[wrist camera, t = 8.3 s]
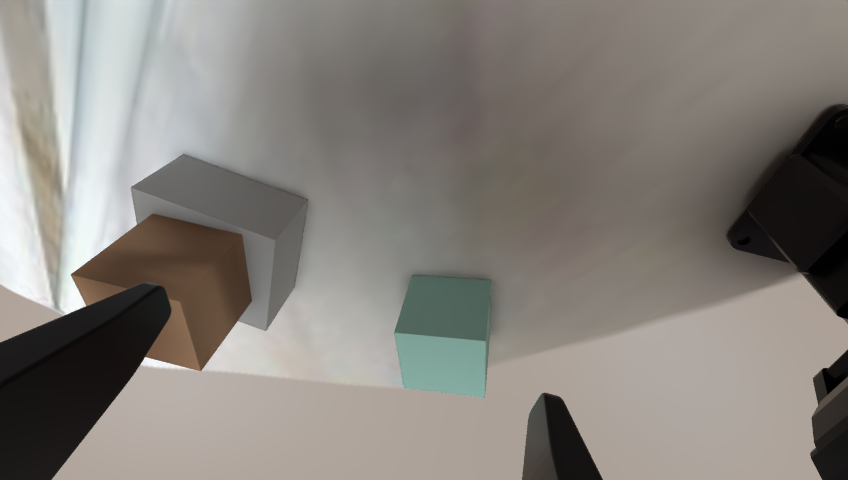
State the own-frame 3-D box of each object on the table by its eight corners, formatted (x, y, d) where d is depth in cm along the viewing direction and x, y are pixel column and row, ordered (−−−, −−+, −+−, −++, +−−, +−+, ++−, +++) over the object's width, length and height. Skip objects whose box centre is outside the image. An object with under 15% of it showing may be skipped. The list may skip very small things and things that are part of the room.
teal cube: (491, 279, 23) (485, 341, 19) (489, 334, 26) (485, 397, 22) (413, 274, 24) (394, 332, 20) (419, 327, 26) (403, 387, 23)
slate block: (310, 197, 22) (275, 240, 19) (296, 284, 26) (265, 330, 23) (186, 151, 22) (130, 187, 19) (192, 246, 26) (147, 288, 23)
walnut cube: (242, 234, 19) (179, 301, 16) (251, 301, 22) (201, 371, 18) (152, 213, 19) (70, 274, 16) (173, 281, 22) (107, 347, 19)
